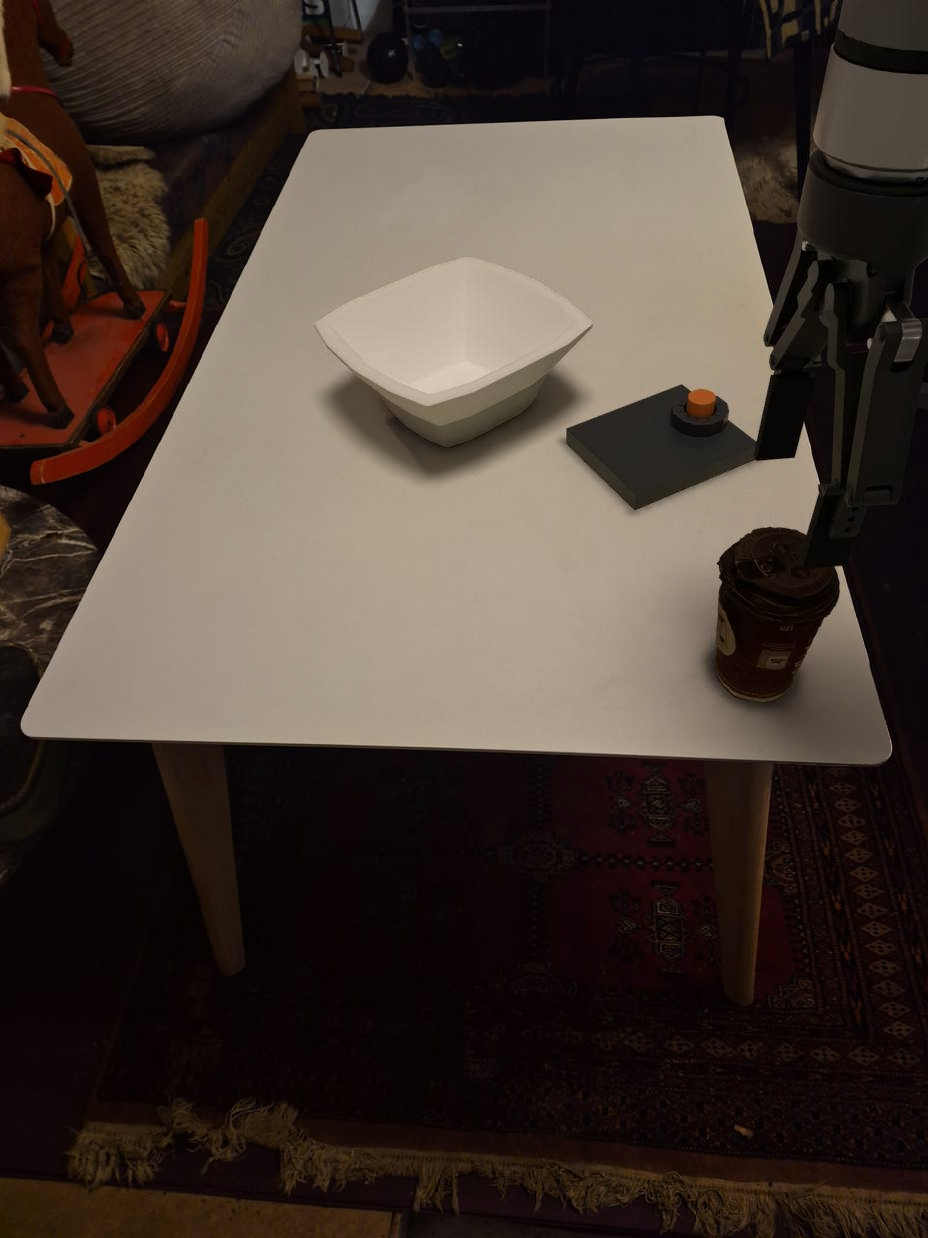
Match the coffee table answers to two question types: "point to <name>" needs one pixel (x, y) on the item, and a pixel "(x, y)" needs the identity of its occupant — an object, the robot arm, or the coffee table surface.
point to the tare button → (701, 403)
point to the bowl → (455, 345)
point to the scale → (660, 446)
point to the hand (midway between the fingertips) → (796, 506)
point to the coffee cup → (768, 612)
